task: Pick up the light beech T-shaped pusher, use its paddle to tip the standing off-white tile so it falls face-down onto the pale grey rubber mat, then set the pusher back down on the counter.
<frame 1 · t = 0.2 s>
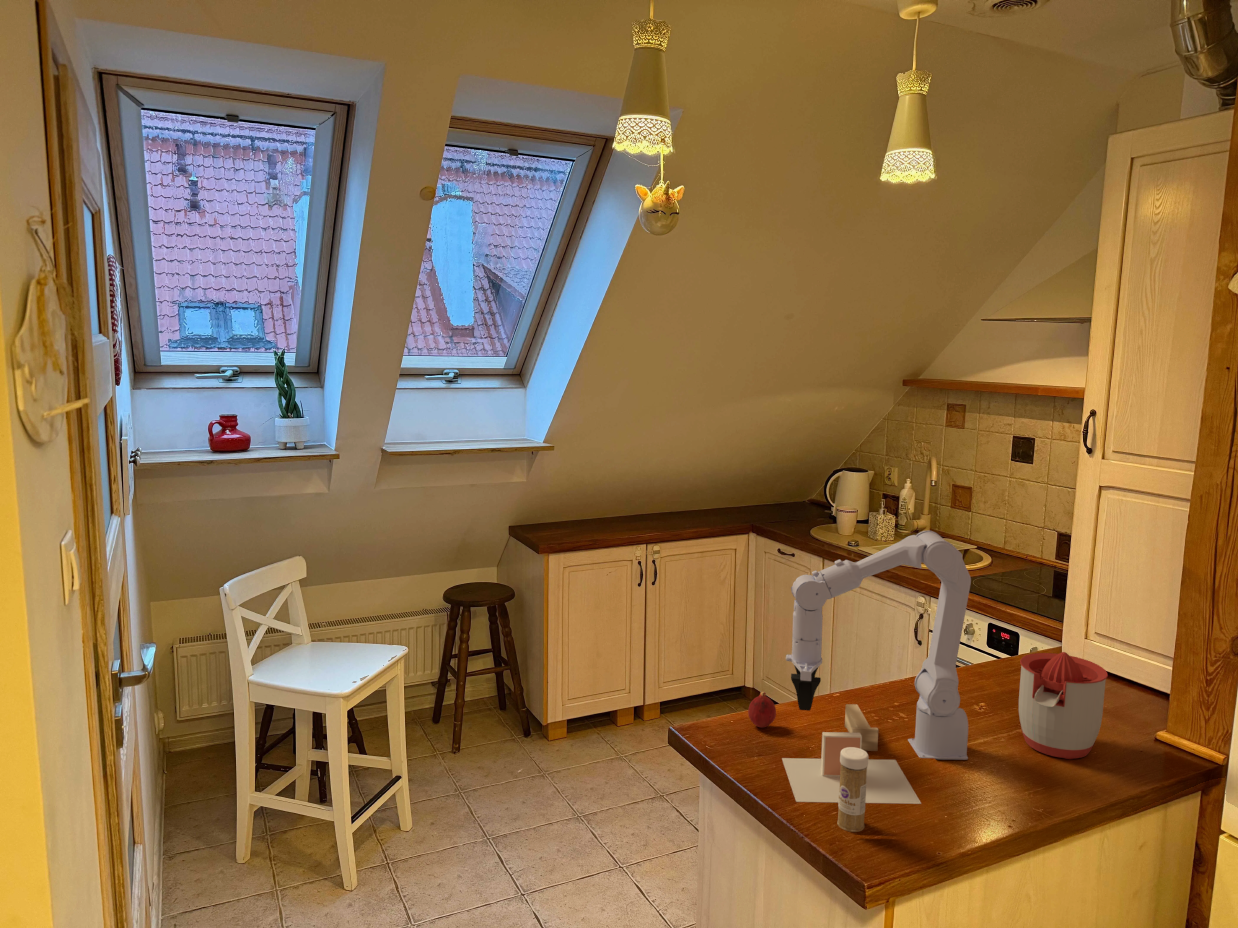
hand: (805, 701, 175), 10 cm above the counter, tool pointing down, fingers open, 7 cm apart
sprinkles bottle: (850, 828, 148), on the counter
onion: (761, 729, 185), on the counter
pusher: (856, 738, 180), on the counter
tile: (840, 774, 164), resting on mat
mat: (848, 782, 162), on the counter
citrus juicer: (1054, 748, 176), on the counter
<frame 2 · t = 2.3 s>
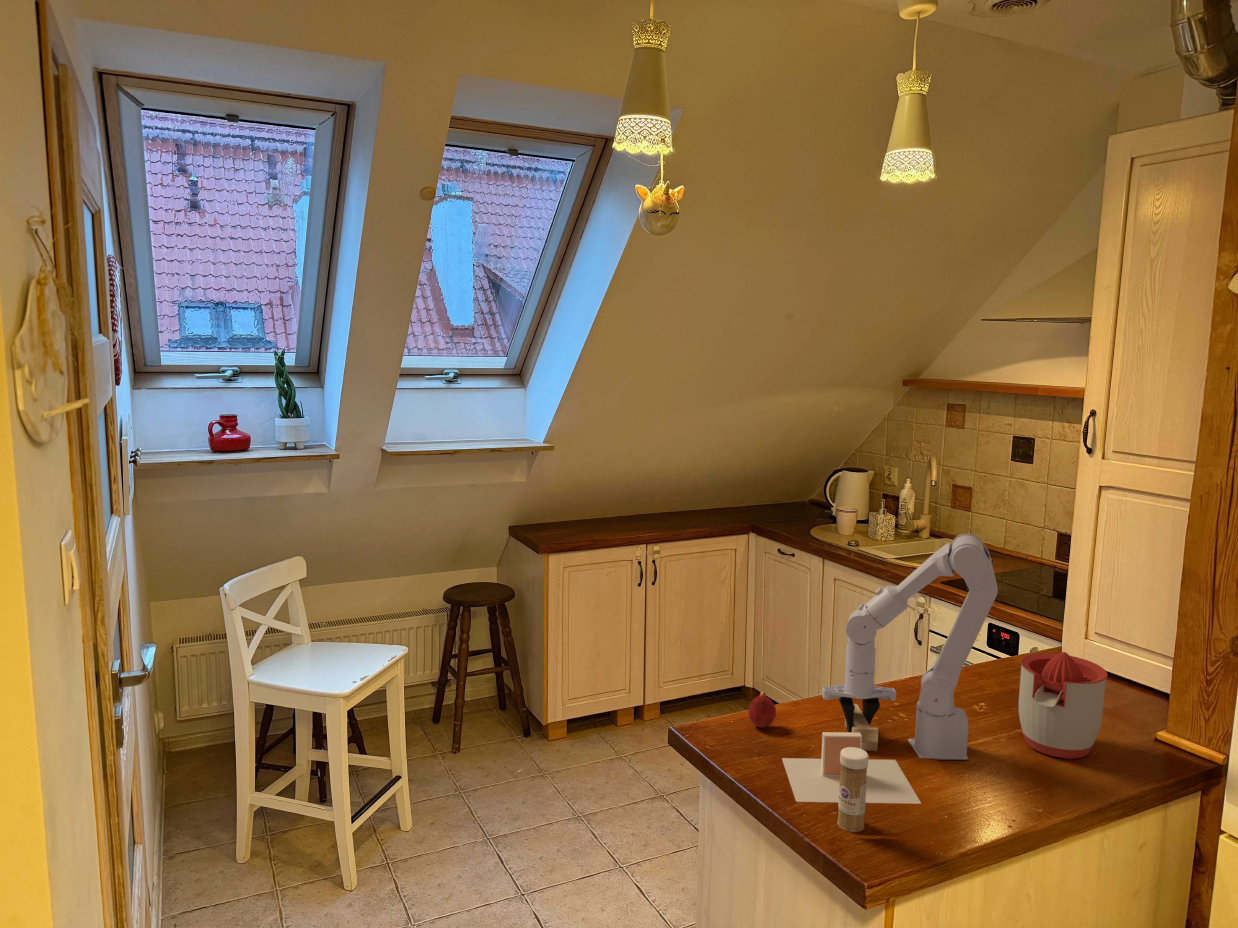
hand: (857, 731, 180), 1 cm above the counter, tool pointing down, fingers closed on pusher, 2 cm apart
pusher: (856, 738, 180), on the counter, touching gripper
everything else where it was.
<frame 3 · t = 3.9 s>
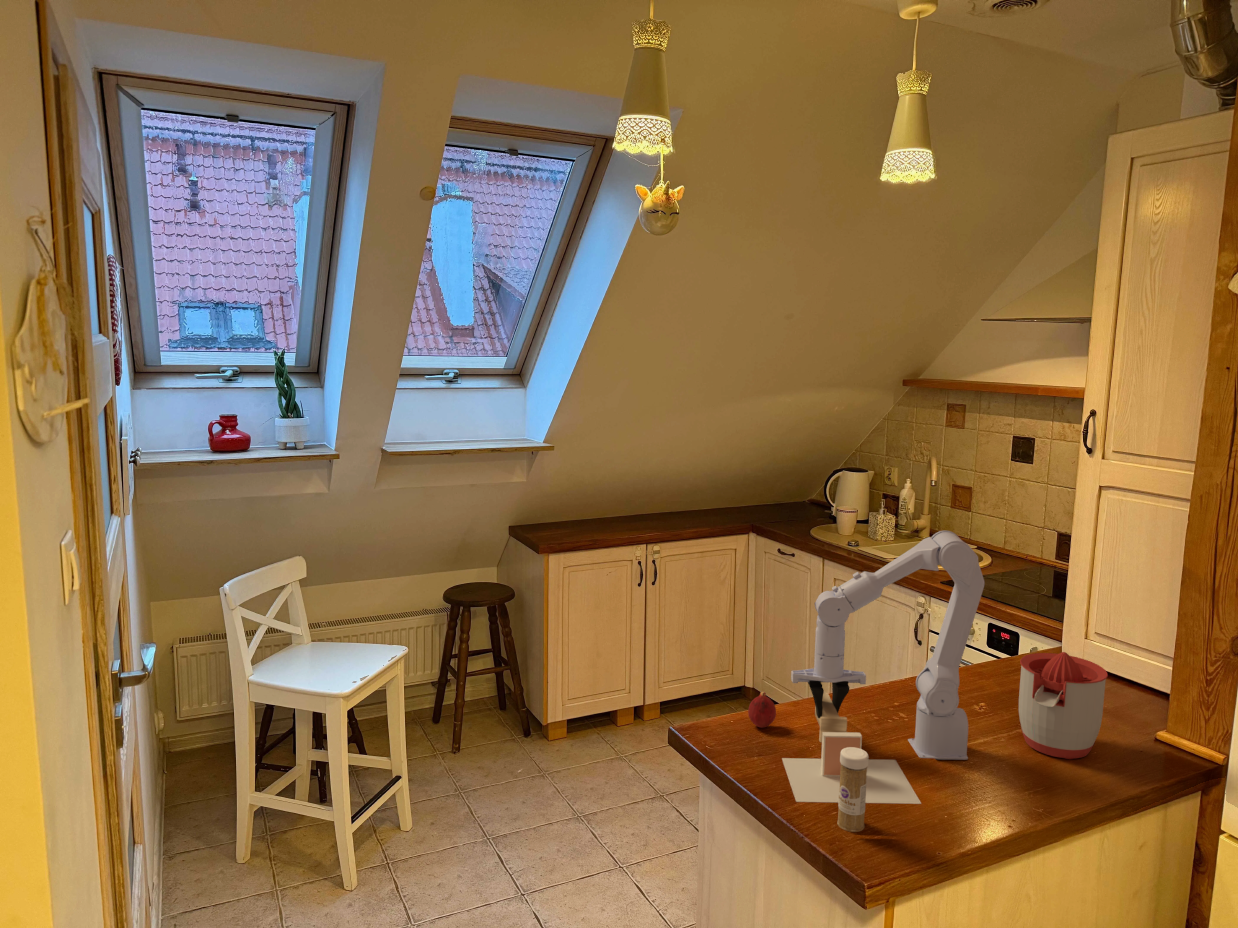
hand: (826, 716, 176), 6 cm above the counter, tool pointing down, fingers closed on pusher, 2 cm apart
pusher: (826, 727, 177), point 4 cm above the counter, touching gripper
everything else where it was.
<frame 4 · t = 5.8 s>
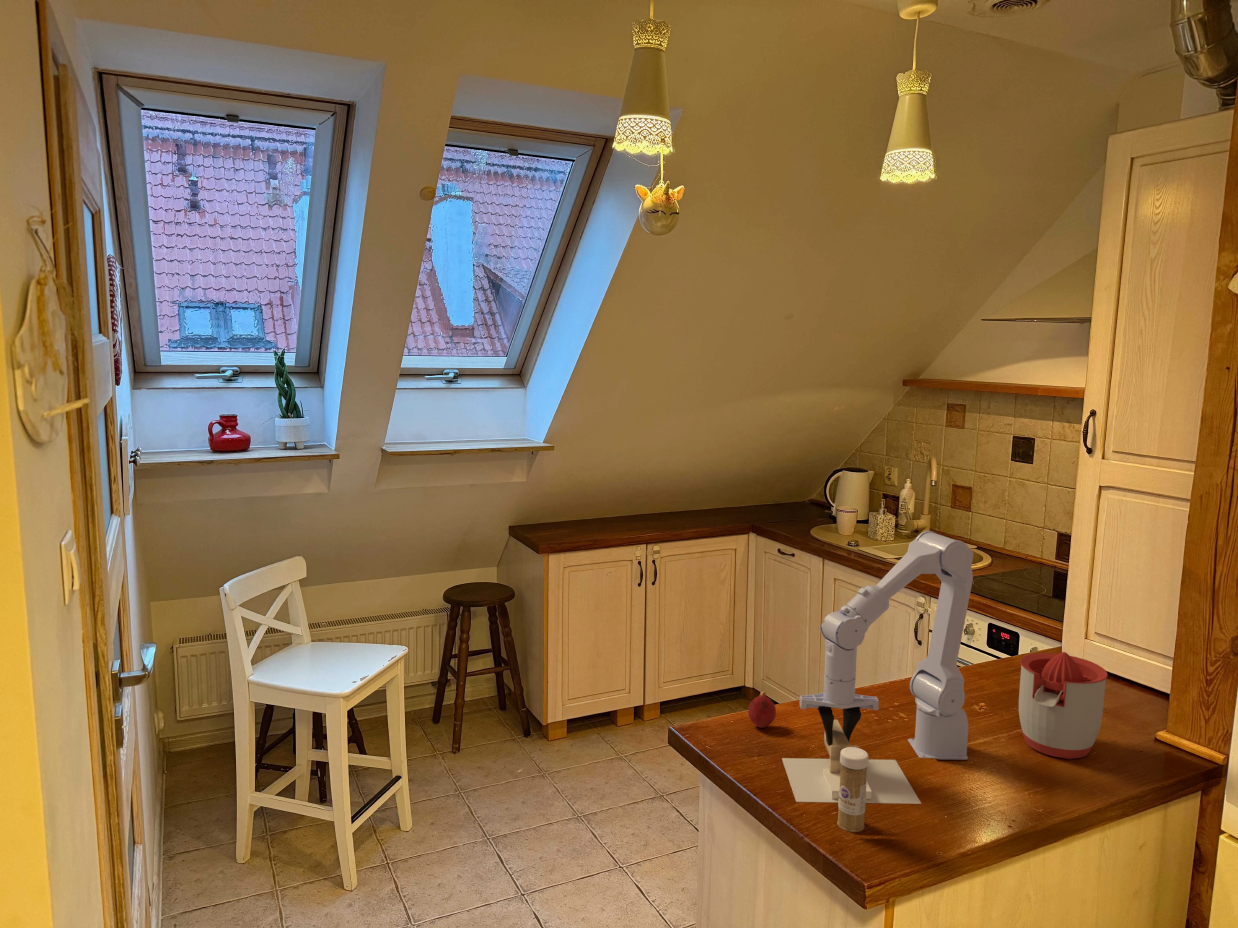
hand: (837, 743, 167), 5 cm above the counter, tool pointing down, fingers closed on pusher, 2 cm apart
pusher: (836, 756, 168), point 2 cm above the counter, touching gripper
tile: (841, 772, 163), point 1 cm above the counter, tilted 90°, touching mat
everything else where it was.
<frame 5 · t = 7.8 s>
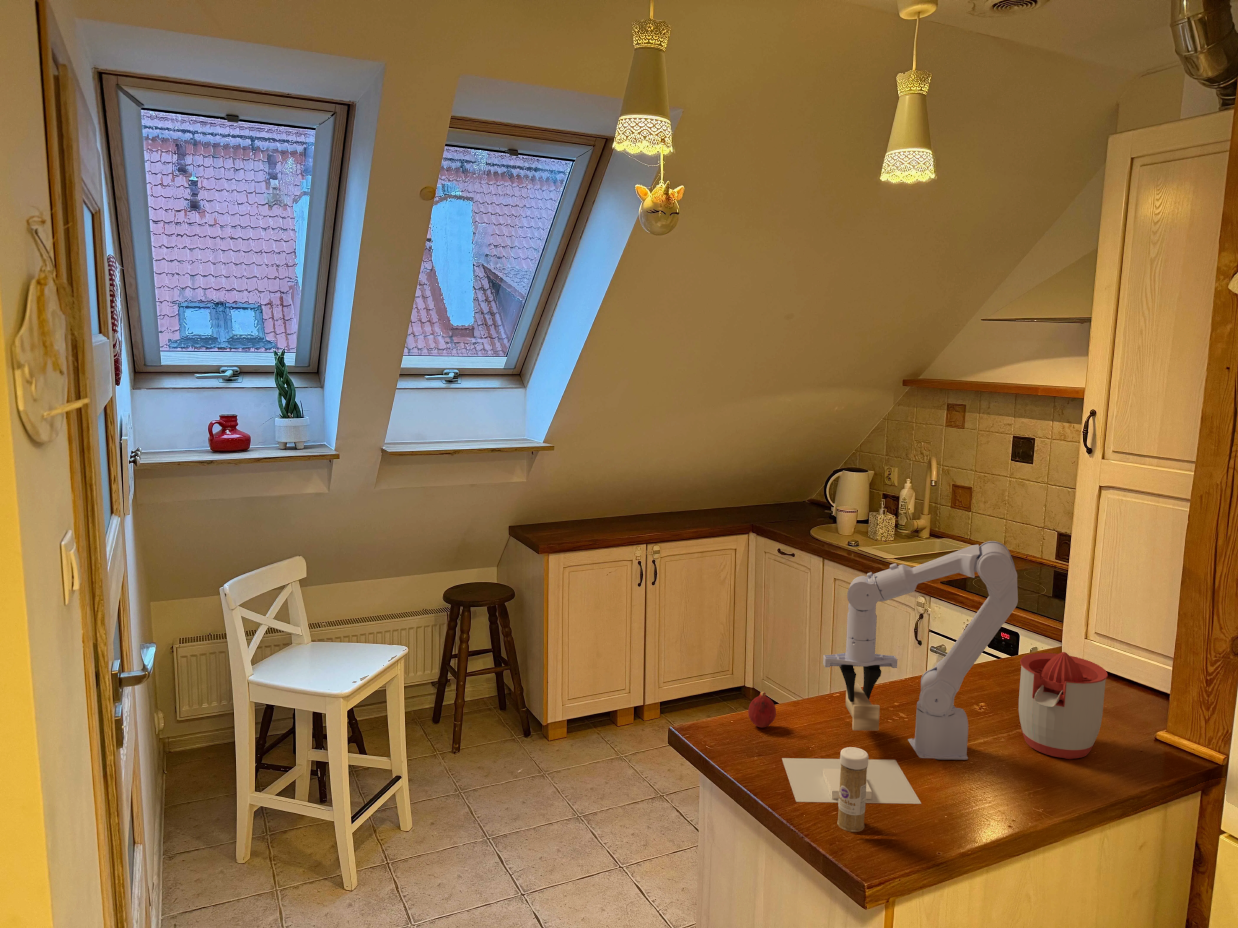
hand: (858, 699, 179), 8 cm above the counter, tool pointing down, fingers closed on pusher, 2 cm apart
pusher: (857, 716, 179), point 5 cm above the counter, touching gripper
everything else where it was.
when the fingers open (2 cm above the counter, at t = 9.2 s): pusher stays where it is, on the counter.
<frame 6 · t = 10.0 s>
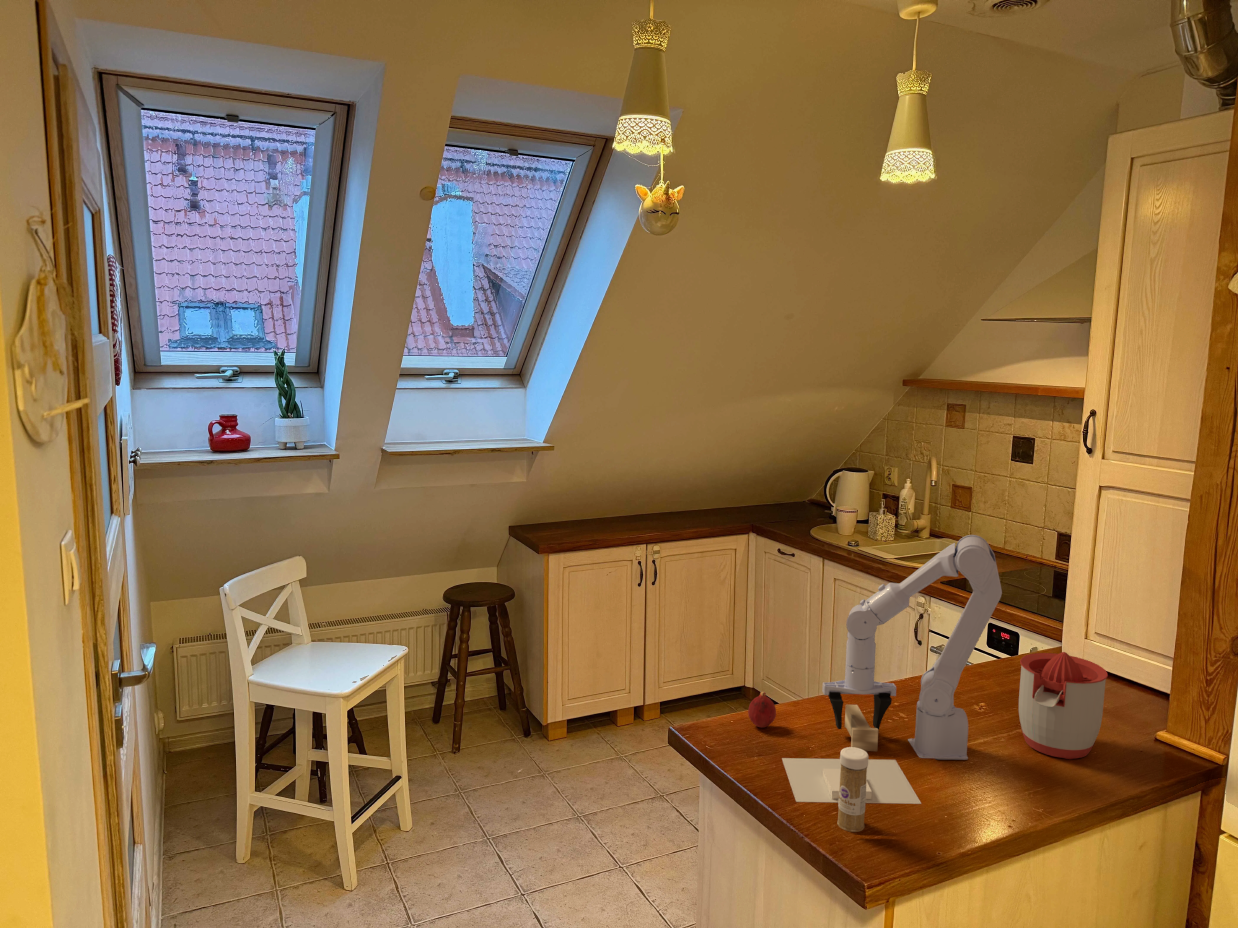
hand: (857, 727, 180), 2 cm above the counter, tool pointing down, fingers open, 7 cm apart
pusher: (856, 738, 180), on the counter
everything else where it was.
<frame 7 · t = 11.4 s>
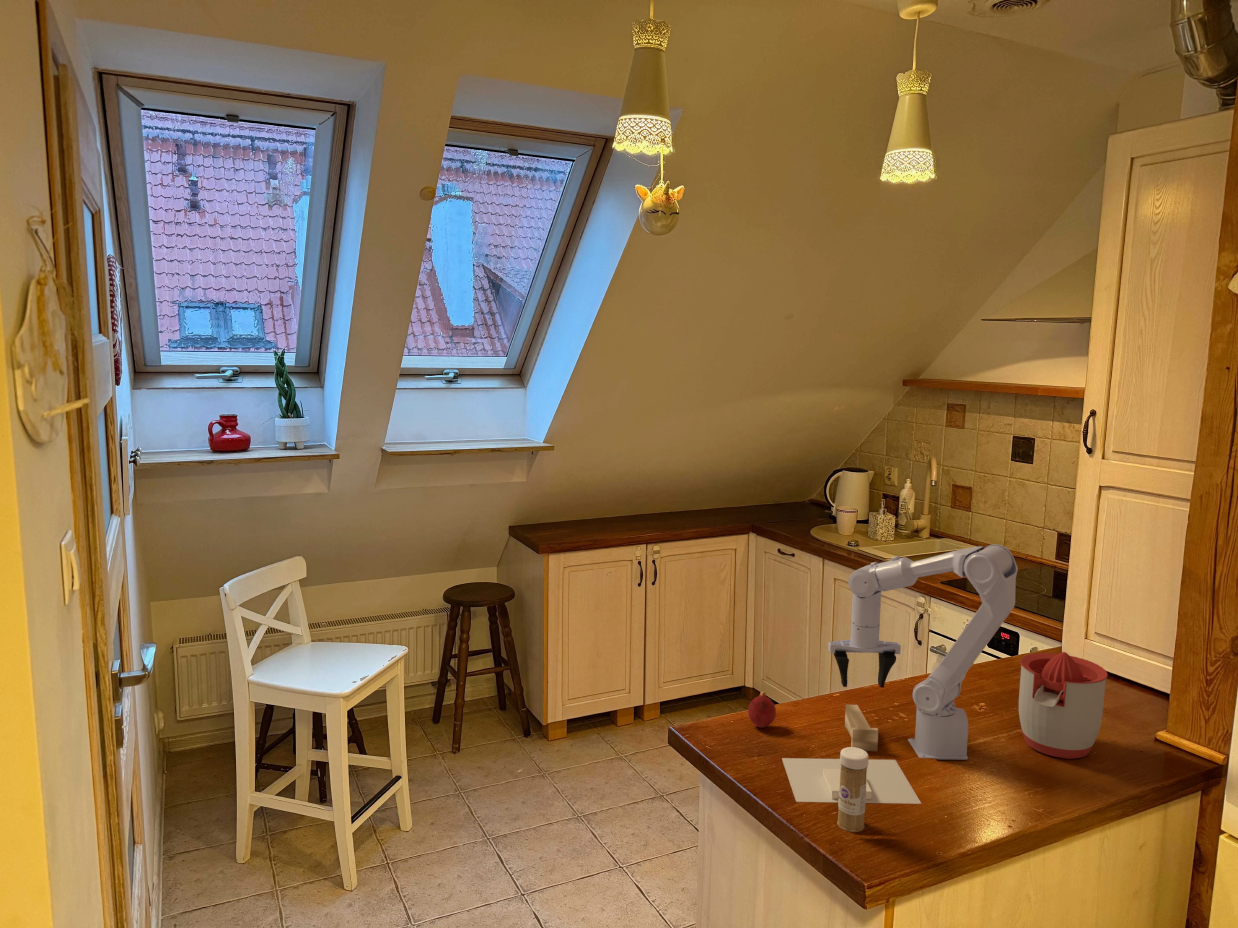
hand: (862, 685, 184), 9 cm above the counter, tool pointing down, fingers open, 7 cm apart
nothing on the counter moved.
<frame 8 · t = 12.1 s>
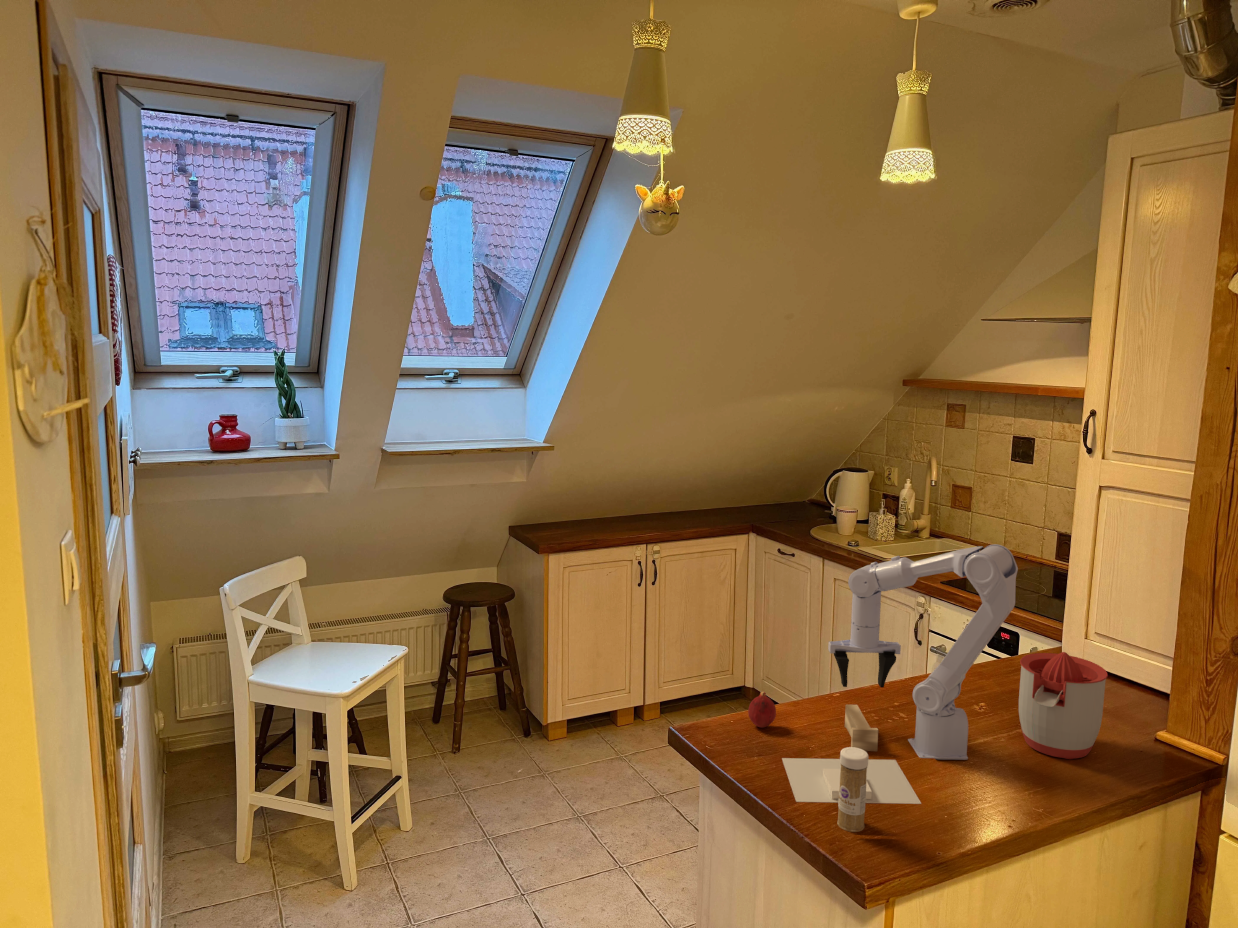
hand: (862, 685, 184), 9 cm above the counter, tool pointing down, fingers open, 7 cm apart
nothing on the counter moved.
at the end: tile tilted 90°; tile inside the target area (2.8 cm from its centre), point 1.3 cm above the counter; pusher touching counter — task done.
